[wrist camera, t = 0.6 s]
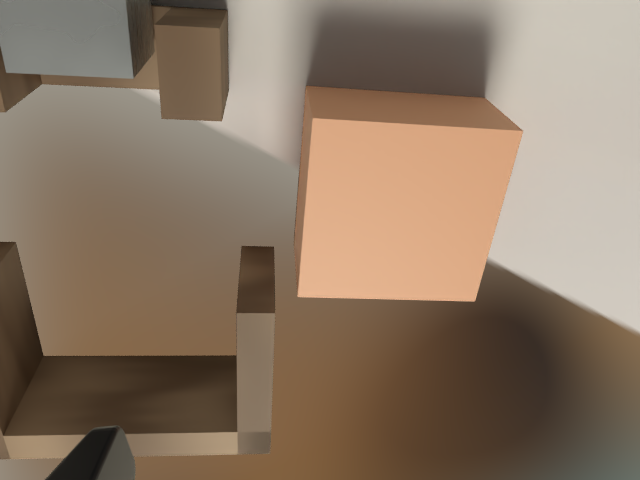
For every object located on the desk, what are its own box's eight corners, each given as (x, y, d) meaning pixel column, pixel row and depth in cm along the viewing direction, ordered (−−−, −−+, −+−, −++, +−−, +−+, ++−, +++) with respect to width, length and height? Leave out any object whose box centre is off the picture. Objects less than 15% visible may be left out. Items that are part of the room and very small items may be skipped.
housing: (274, 246, 21) (275, 313, 17) (269, 376, 24) (270, 453, 21) (-20, 241, 20) (-81, 311, 16) (18, 377, 23) (-26, 459, 20)
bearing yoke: (227, 9, 16) (220, 28, 14) (228, 90, 18) (221, 121, 15) (-30, -6, 16) (-88, 10, 13) (-10, 79, 17) (-61, 109, 14)
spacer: (482, 96, 19) (523, 131, 16) (446, 247, 22) (474, 301, 19) (305, 83, 18) (312, 117, 15) (293, 242, 21) (297, 297, 18)
